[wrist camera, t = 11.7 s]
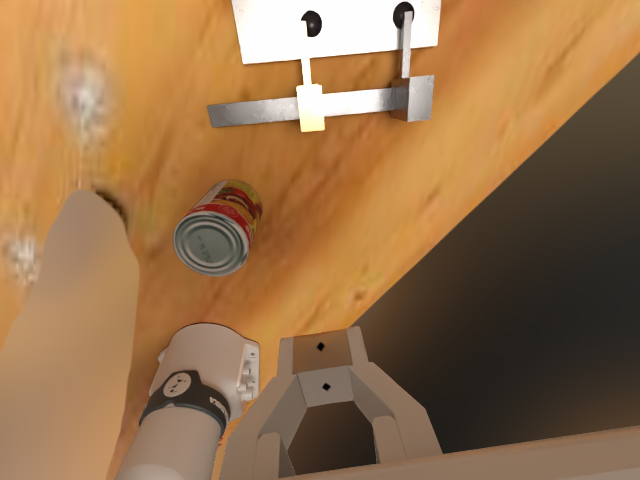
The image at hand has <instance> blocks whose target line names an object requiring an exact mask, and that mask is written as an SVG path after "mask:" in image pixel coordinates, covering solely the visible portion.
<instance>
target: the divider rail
mask: <svg viewBox="0 0 640 480" xmlns="http://www.w3.org/2000/svg"><path fill="white" fill-rule="evenodd" d="M412 13H413V11H409V12H404V13H403V14H402V36H401V60H400V79H396V80H392V83H391V88H384V89H373V90H363V91H353V92H342V93H332V94H322V102H323V115H324V117H326V116H336V115H346V114H356V113H367V112H377V111H387V110H391V118H395V119H399V120H403V121H407V122H410V121H420V120H431V109H432V98H433V87H434V76H435V75H428V76H418V77H409V68H410V50H411V31H412ZM207 109H208V113H209V117H210V121H211V125H212V127H222V126H233V125H243V124H253V123H264V122H274V121H284V120H295V119H300V115H299V106H298V97H290V98H280V99H269V100H259V101H249V102H238V103H228V104H217V105H208V106H207Z"/></svg>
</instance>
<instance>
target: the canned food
mask: <svg viewBox="0 0 640 480" xmlns="http://www.w3.org/2000/svg"><path fill="white" fill-rule="evenodd" d="M261 215H262V202H261V198H260V197H259V195H258V193H257V192H256V191H255V190H254V189H253V188H252V187H251V186H250V185H248V184H246V183H245V182H242V181H239V180H225V181H221V182H219V183H217V184H216V185H215V186H214V187H213V188H212V189H211V190H210V191H209V192H208V193H207V194H206V195H205V196H204V197H203V198H202V199H201V200H200V201H199V202H198V203H197V204H196V205H195V206H194V207H193V208H192V209H191V210H190V212H189V213H188V214H187V215H186V216H185V217H184V218H183V219H182V220H181V221H180V222H179V223H178V224H177V226H176V228H175V230H174V233H173V246H174V250H175V252H176V254H177V256H178V257H179V259H180V260H181V261H182V262H183V263H184V264H185V265H186V266H187V267H189V268H190V269H191V270H193V271H195V272H197V273H200V274H203V275H207V276H217V277H220V276H225V275H229V274H231V273H234V272H236V271H237V270H238V269H240V268H241V267H242V266H243V264H244V263H245V261H246V260H247V257H248V254H249V251H250V248H251V245H252V242H253V239H254V236H255V233H256V230H257V227H258V224H259V221H260V218H261Z"/></svg>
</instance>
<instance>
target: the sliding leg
mask: <svg viewBox="0 0 640 480" xmlns="http://www.w3.org/2000/svg"><path fill="white" fill-rule="evenodd" d="M298 29H299V39H300V49H301V59H302V70H303V80H304V86H297V97H298V106H299V115H300V124H301V132H308V131H318V130H325V129H324V115H323V102H322V88H321V86H318V84H314V85H311V76H310V65H309V53H308V42H307V30H306V21H301V22H298Z"/></svg>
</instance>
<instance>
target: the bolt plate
mask: <svg viewBox="0 0 640 480" xmlns="http://www.w3.org/2000/svg"><path fill="white" fill-rule="evenodd" d="M232 5H233V11H234V16H235V22H236V27H237V33H238V38H239V44H240V49H241V55H242V60H243V64H244V65H249V64H259V63H270V62H280V61H291V60H302V59H301V49H300V39H299V29H298V22H301V21H306V30H307V42H308V53H309V59H312V58H323V57H333V56H344V55H355V54H365V53H376V52H386V51H397V50H401V36H402V14H403V13H404V12H409V11H413V13H412V31H411V49H418V48H429V47H434V46H437V40H438V29H439V18H440V7H441V0H232Z"/></svg>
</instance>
